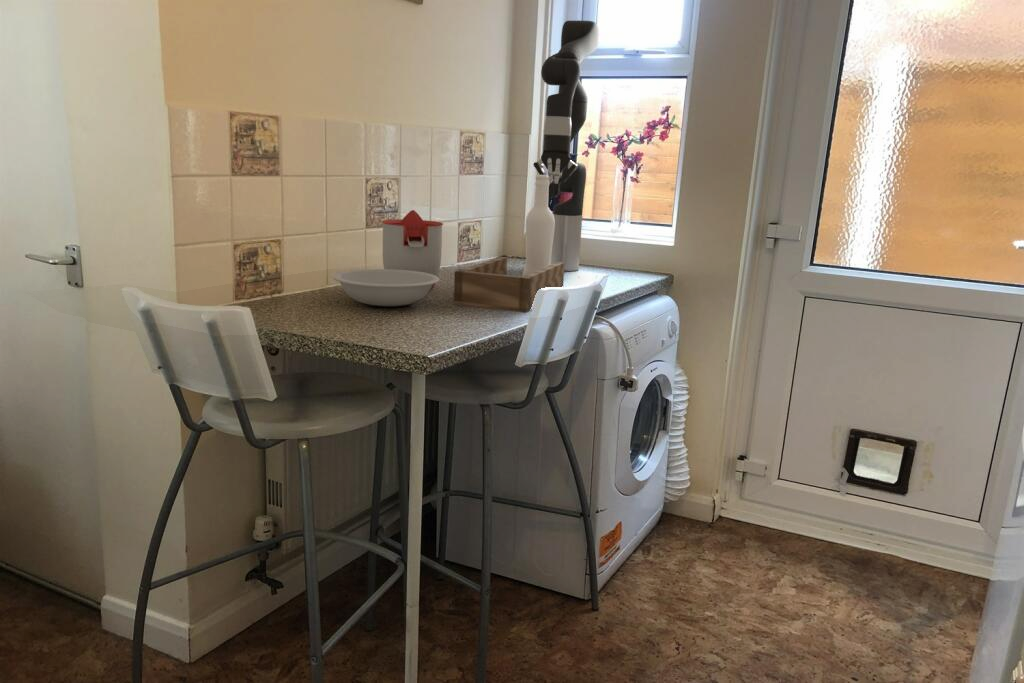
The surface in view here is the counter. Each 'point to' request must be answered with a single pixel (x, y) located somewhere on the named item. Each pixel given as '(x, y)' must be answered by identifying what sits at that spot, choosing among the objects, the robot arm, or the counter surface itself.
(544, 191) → the bottle
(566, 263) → the robot arm
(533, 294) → the brown wooden open box
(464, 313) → the counter surface
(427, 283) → the soup bowl
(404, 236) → the citrus juicer
